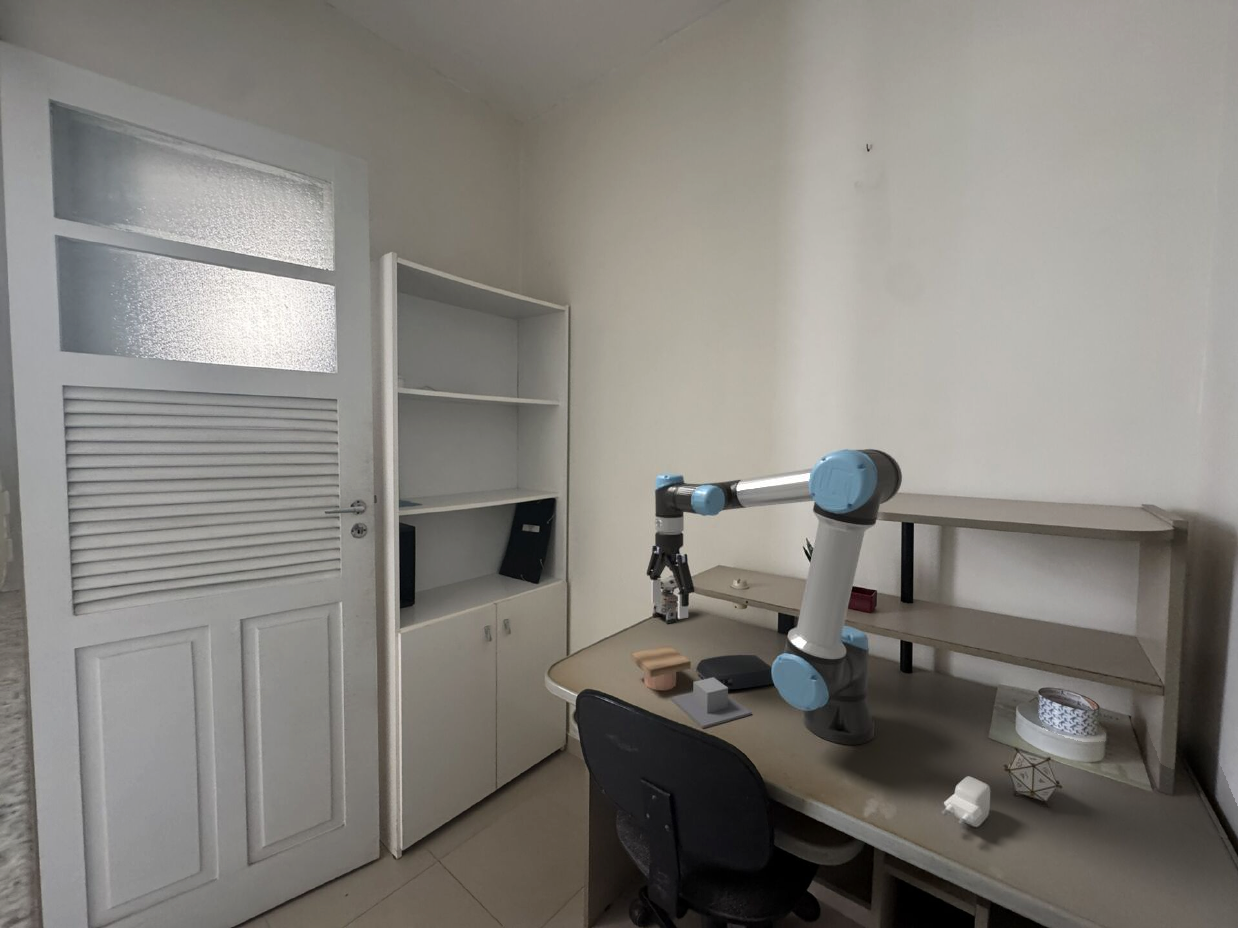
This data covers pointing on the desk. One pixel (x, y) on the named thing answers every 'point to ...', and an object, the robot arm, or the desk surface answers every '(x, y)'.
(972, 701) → the desk surface
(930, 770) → the desk surface
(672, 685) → the bowl
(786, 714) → the desk surface
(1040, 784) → the game die
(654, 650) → the lid
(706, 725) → the cube on square base
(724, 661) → the external hard drive
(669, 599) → the figurine
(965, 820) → the power adapter
